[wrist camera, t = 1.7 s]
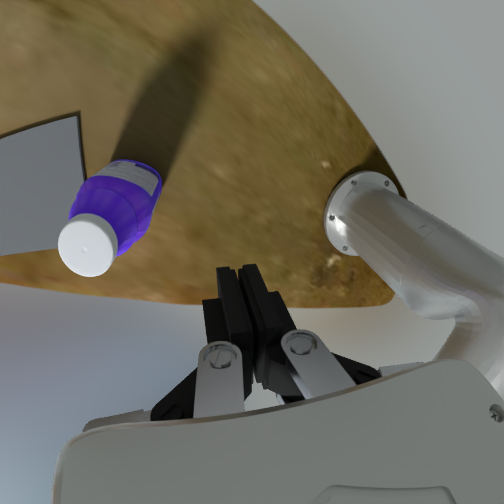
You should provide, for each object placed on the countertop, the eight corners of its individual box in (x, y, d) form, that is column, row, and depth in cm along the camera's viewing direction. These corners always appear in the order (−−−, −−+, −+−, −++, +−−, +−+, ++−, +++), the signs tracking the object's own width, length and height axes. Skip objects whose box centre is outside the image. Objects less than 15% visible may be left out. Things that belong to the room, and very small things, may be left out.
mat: (78, 115, 26) (76, 115, 25) (97, 241, 33) (96, 243, 33) (-34, 153, 22) (-36, 154, 22) (-10, 255, 30) (-11, 257, 29)
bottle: (99, 196, 31) (37, 273, 16) (110, 151, 29) (41, 196, 14) (155, 212, 33) (131, 301, 18) (168, 167, 31) (148, 225, 16)
